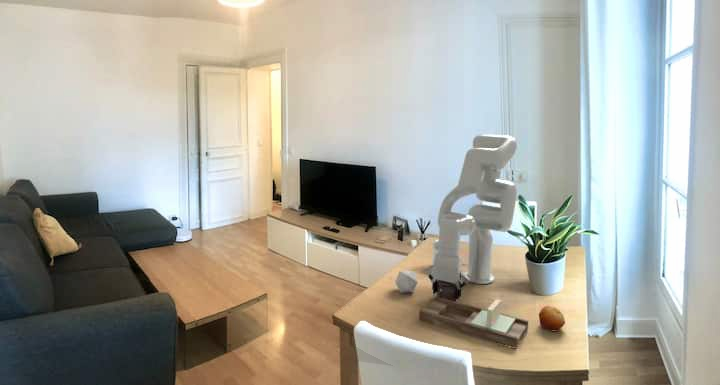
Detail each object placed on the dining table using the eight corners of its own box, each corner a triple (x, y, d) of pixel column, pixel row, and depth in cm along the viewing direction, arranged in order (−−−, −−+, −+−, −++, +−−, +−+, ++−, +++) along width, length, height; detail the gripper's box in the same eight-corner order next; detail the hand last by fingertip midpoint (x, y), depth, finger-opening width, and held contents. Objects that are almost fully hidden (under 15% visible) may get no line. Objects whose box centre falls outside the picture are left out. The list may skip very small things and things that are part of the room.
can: (443, 270, 196) (444, 244, 193) (429, 266, 200) (430, 241, 198) (451, 266, 201) (452, 240, 199) (437, 262, 205) (438, 237, 203)
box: (436, 296, 169) (437, 277, 168) (451, 295, 170) (452, 277, 168) (440, 303, 163) (441, 284, 162) (456, 302, 164) (457, 283, 162)
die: (410, 299, 168) (423, 277, 169) (391, 286, 168) (404, 265, 170) (408, 297, 176) (420, 276, 177) (389, 286, 176) (402, 265, 178)
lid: (482, 312, 150) (483, 294, 149) (515, 320, 144) (516, 302, 143) (470, 325, 141) (471, 306, 140) (505, 335, 135) (506, 315, 134)
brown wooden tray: (436, 305, 161) (436, 296, 161) (527, 330, 144) (528, 320, 143) (418, 320, 150) (419, 310, 149) (515, 349, 132) (516, 338, 132)
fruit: (535, 314, 152) (550, 298, 148) (555, 331, 149) (571, 315, 145) (529, 323, 145) (544, 307, 142) (550, 341, 142) (566, 325, 139)
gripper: (422, 248, 164) (420, 293, 168) (467, 258, 155) (465, 304, 158) (431, 243, 171) (429, 286, 174) (475, 252, 161) (472, 297, 164)
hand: (446, 295), depth 166 cm, fingers closed on box, 8 cm apart
